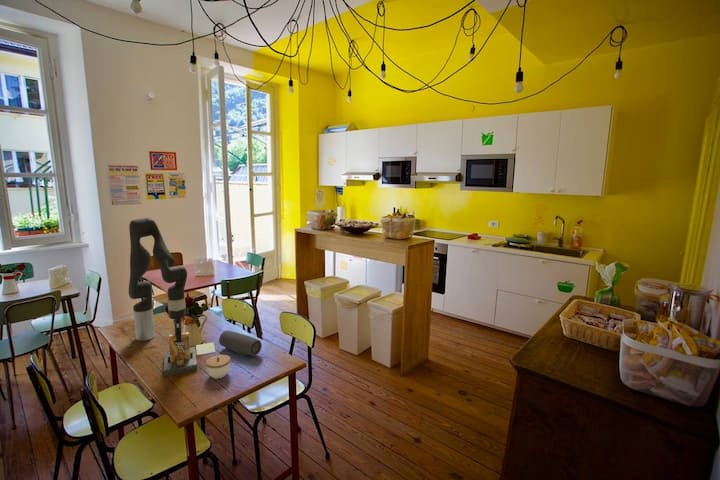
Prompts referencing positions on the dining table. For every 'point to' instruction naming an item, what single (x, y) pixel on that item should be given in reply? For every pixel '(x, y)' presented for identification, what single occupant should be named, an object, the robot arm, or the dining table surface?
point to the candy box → (179, 347)
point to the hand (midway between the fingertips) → (179, 338)
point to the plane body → (180, 364)
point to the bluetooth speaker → (240, 343)
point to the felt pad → (205, 348)
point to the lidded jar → (218, 366)
